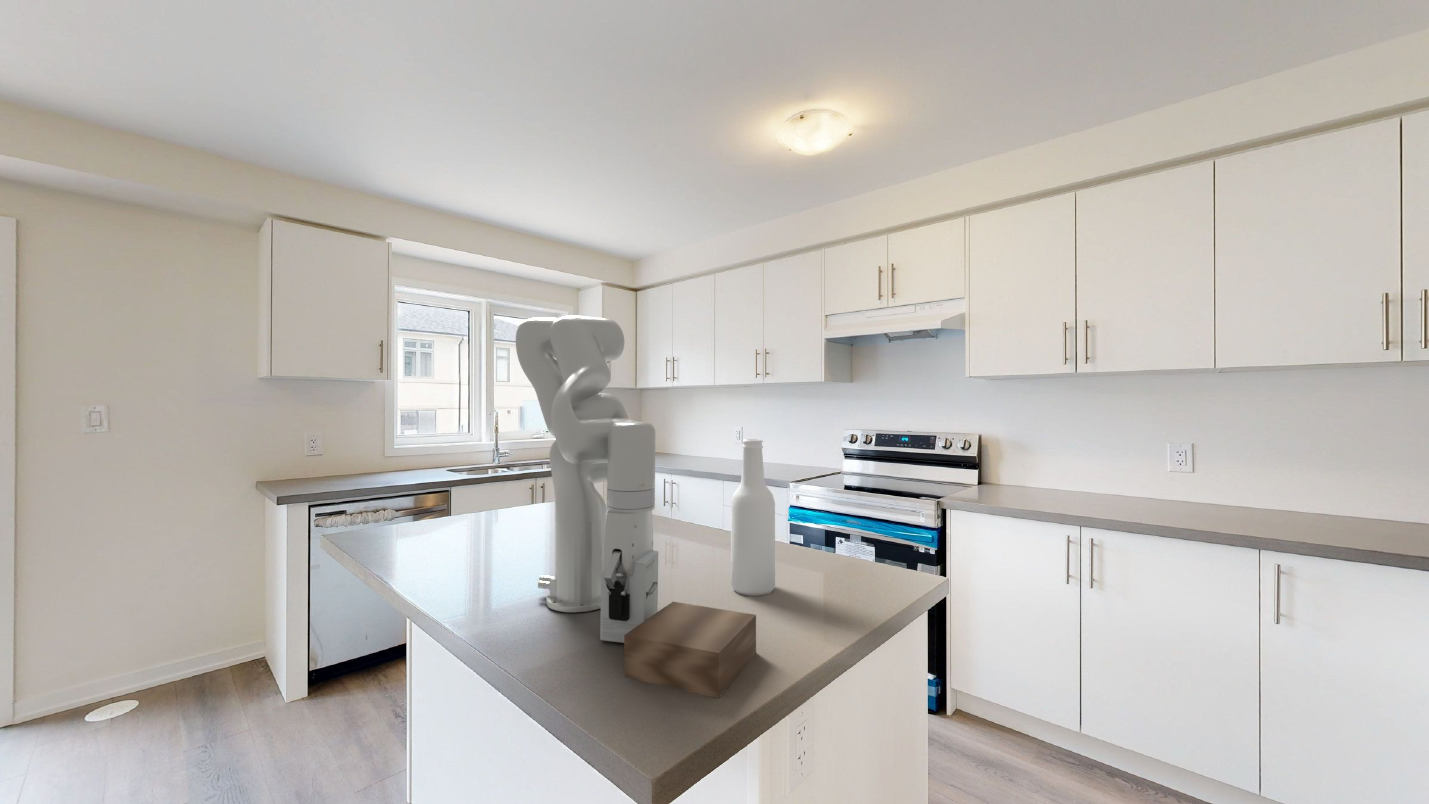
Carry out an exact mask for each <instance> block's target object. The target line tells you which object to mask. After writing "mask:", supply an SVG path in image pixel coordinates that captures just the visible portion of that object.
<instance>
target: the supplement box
mask: <svg viewBox="0 0 1429 804" xmlns="http://www.w3.org/2000/svg"><path fill="white" fill-rule="evenodd" d="M602 562H603V560H602V561H601V608H600V615H599V616H600V619H599V621H600V627H599V629H600V631H599V635H600V636H599V640H600V641H605V642H614V643H622V644H624V635H625V634H626V633H628V632H629V631H631V630H632V629H634V628H635V627H637V626H638V625H640V624H641V623H642V622H644V621H645V620H647V619H648V618H650V617H651V616H653V615H654V614H656V613H657V612H658V610H659V608H658V606H659V601H658V599H659V550H654V549H653V550H652V551H650V552H649V553H648V554H646V555H645V556H643V557H642V558H641V559H639V560H638V561H636V562H635V567H634V574H633V575H632V576H631V577H630V578H629V586H628V591H627V594H630V610H629V620H627V621H620V620H612V619H610V618H609V594H608V588H607V586H606V581H605V579H604V573H603V571H602ZM617 573H626V569H624V567H623V564H622V561H621V564H620V566H619V569H618V571H617ZM623 580H624V578H618V577H617V581H620V583H621V585H623Z"/></svg>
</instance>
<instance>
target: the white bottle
mask: <svg viewBox="0 0 1429 804" xmlns="http://www.w3.org/2000/svg"><path fill="white" fill-rule="evenodd" d="M763 442H764V441H763V439H761V438H760V439H759V438H744V439H743V440H742V443H743V445H742V449H743V450H742V463H741V466H742V467H741V477H740V478H741V479H740V483H739V486H738V487H737V488H736V490H734V493H733V494H732V497H731V501H730V572H731V573H730V576H731V577H730V584H731V585H730V586H731V587H732V589H733V591H734V592H736V593H737V594H739V595H743V596H750V597H751V596H752V597H759V596H766V595H768V594H771V593H772V592H773V591H774V589H775V587H776V502H775V498H774V495H773V492H771V490H770V489H769V488H768V486H767V484H766V481H765V471H764V470H765V469H764V459H763V456H764V455H763V448H764V447H763Z"/></svg>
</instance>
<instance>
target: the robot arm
mask: <svg viewBox="0 0 1429 804" xmlns="http://www.w3.org/2000/svg"><path fill="white" fill-rule="evenodd" d="M515 349H516V350H515V351H516V354H517V359H518V362H519V365H520V366H521V369H522V372H523V373H524V374H525V376H526V378H527V380H528V381H529V382H530V384H531V385H532V387H533V389H534V391H535V393H536V397H537V400H538V404H539V407H540V410H541V413H542V417H543V419H544V422H545V425H546V427H547V430H548V432H549V433H550V435H552V436H553V438H555V440H554V442H553V443H552V444H551V446H550V449H549V458H548V459H549V466H550V473H551V477H552V483H553V484H552V485H553V492H554V493H553V495H554V576H553V575H548V574H541V575H540V576H539V578H538V583H537V588H538V589H542V590H543V589H544V590H545V589H547V590H548V591H549V594H548V595H547V596H546V599H545V600H546V601H545V602H546V606H547V607H548V608H549V609H551V610H554V611H555V612H561V613H582V612H583V613H584V612H591V611H595V610H599V609H600V610H601V561H602V560H603V562H602V571H603V573H604V579H605V581H606V586H607V588H608V594H609V618H610V619H612V620H620V621H627V620H629V610H630V594H627V591H628V586H629V578H630V577H631V576H632V575H633V574H634V567H635V562H636V561H638V560H639V559H641V558H642V557H643V556H645V555H646V554H648V553H649V552H650V551H652V550H653V551H654V525H653V524H654V523H653V522H654V521H653V510H655V508H656V507H655V506H656V504H655V503H656V429H655V427H654V425H653V424H652V423H650V422H648V421H637V420H635V419H633V418H629V415H628V413H627V410H626V408H625V406H624V404H623V402H622V401H621V400H620V398H618V397H617V396H615V395H614V394H612V393H608V392H602V391H604V390H605V389H606V387H607V386H608V384H609V383H610V380H611V371H610V370H611V369H610V368H609V365H608V363H607V361H609V362H610V361H615V360H617V359H619V358H620V357H621V355H623V352H624V349H625V335H624V331H623V330H622V328H621V325H619V324H618V323H617V322H616V321H615V320H613V319H611V318H604V317H594V316H584V315H565V316H561V317H559V318H558V317H547V316H545V317H544V316H543V317H542V316H541V317H532V318H528V319H526V320H523V321H522V322H521V323H520V324H519V325H518V327H517V329H516V333H515ZM599 483H607V485H606V489H607V490H606V497H607V498H606V501H605V500H604V497H602V495H601V494H600V492H599V491H598V490H597V488H596V487H595V484H599ZM621 561H622V564H623V567H624V569H626V573H617V571H618V569H619V566H620V564H621ZM617 577H618V578H624V580H623V585H621V583H620V581H617Z"/></svg>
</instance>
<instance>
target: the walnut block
mask: <svg viewBox="0 0 1429 804" xmlns="http://www.w3.org/2000/svg"><path fill="white" fill-rule="evenodd" d="M623 645H624V646H623V649H624V650H623V652H624V653H623V654H624V655H623V656H624V662H623V663H624V664H623V665H624V667H623V669H624V672H623V673H624V676H623V677H624V678H629V679H633V680H637V681H638V680H639V681H642V682H646V683H650V684H654V685H659V686H664V687H669V688H673V689H676V690H681V691H685V692H691V693H694V694H700V695H702V696H708V697H711V698H717V699H720V697H722V695H723V694H724V692H725V691H726V690H727V689H728V688H729V687H730V686H731V684H732V683H733V681H734V680H735V679H736V678H737V677H738V676H739V674H740V673H741V672H742V671H743V669H744V668H745V667H746V666H747V665H748V663H749V662H750V661H751V660H752V659H753V657H754V656H755V655H756V654H757V614H754V613H749V612H748V613H746V612H741V611H734V610H729V609H728V610H727V609H722V608H715V607H710V606H703V605H698V604H690V603H684V602H679V601H672V602H670V603H669V604H667V605H665V606H664V607H663V608H661V609H660V610H659V611H658V612H657V613H656V614H654V615H653V616H651V617H650V618H648V619H647V620H645V621H644V622H642V623H641V624H640V625H638V626H637V627H635V628H634V629H632V630H631V631H629V632H628V633H626V634H625V635H624V643H623Z"/></svg>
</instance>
